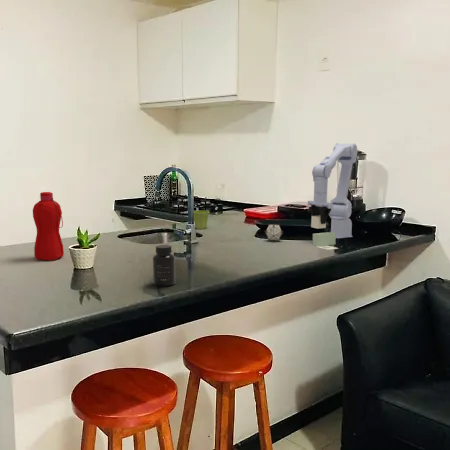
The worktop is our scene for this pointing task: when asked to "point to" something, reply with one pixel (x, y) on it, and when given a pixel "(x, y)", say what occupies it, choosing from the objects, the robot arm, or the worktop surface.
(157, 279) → the supplement bottle
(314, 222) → the ivory brick
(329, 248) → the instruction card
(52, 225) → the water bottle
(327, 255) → the worktop surface
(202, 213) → the plant pot
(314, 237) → the sage brick
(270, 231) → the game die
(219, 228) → the worktop surface
